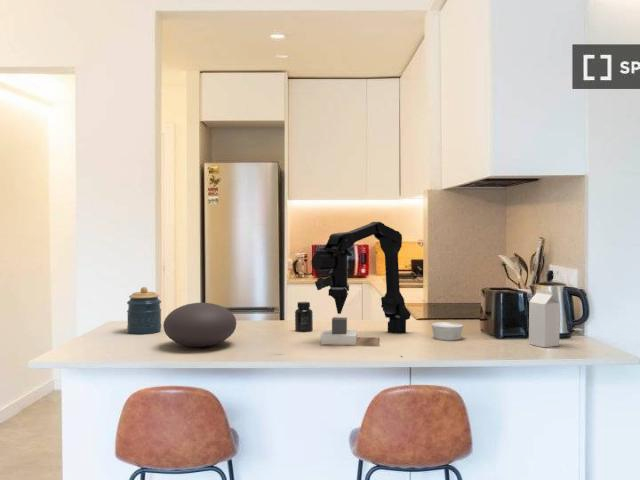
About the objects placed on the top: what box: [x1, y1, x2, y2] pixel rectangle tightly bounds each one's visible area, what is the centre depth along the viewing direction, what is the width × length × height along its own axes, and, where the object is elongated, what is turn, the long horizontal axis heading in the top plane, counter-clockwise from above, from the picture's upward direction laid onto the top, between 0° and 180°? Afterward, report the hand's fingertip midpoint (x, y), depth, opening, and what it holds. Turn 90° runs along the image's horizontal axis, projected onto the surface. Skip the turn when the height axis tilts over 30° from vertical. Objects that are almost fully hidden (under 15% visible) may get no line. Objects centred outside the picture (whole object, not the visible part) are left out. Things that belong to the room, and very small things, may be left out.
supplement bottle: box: [294, 301, 314, 333], centre depth 233 cm, size 7×7×12 cm
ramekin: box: [431, 321, 464, 342], centre depth 222 cm, size 11×11×5 cm
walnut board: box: [319, 336, 381, 348], centre depth 211 cm, size 20×16×1 cm
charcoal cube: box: [331, 316, 348, 334], centre depth 211 cm, size 5×5×7 cm
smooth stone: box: [162, 302, 237, 348], centre depth 209 cm, size 25×25×15 cm
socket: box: [320, 329, 358, 345], centre depth 211 cm, size 12×12×3 cm
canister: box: [126, 286, 162, 335], centre depth 236 cm, size 13×13×18 cm
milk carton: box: [528, 289, 561, 348], centre depth 209 cm, size 7×7×19 cm
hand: (339, 313), depth 211 cm, fingers closed
